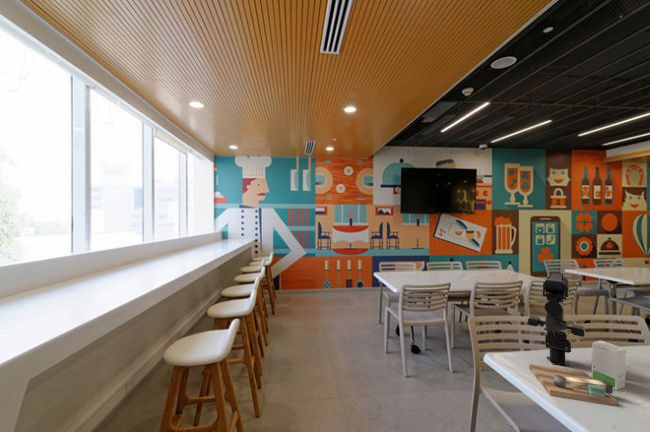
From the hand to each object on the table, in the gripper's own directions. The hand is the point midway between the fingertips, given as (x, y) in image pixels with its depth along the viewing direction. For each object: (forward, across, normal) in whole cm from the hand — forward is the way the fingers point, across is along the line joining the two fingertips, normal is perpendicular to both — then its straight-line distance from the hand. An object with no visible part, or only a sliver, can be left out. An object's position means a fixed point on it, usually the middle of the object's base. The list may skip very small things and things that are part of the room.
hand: (555, 345), depth 119 cm
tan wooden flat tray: (+12, +4, -6) cm, 15 cm away
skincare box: (+13, +16, +7) cm, 22 cm away
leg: (+10, +9, -10) cm, 17 cm away
